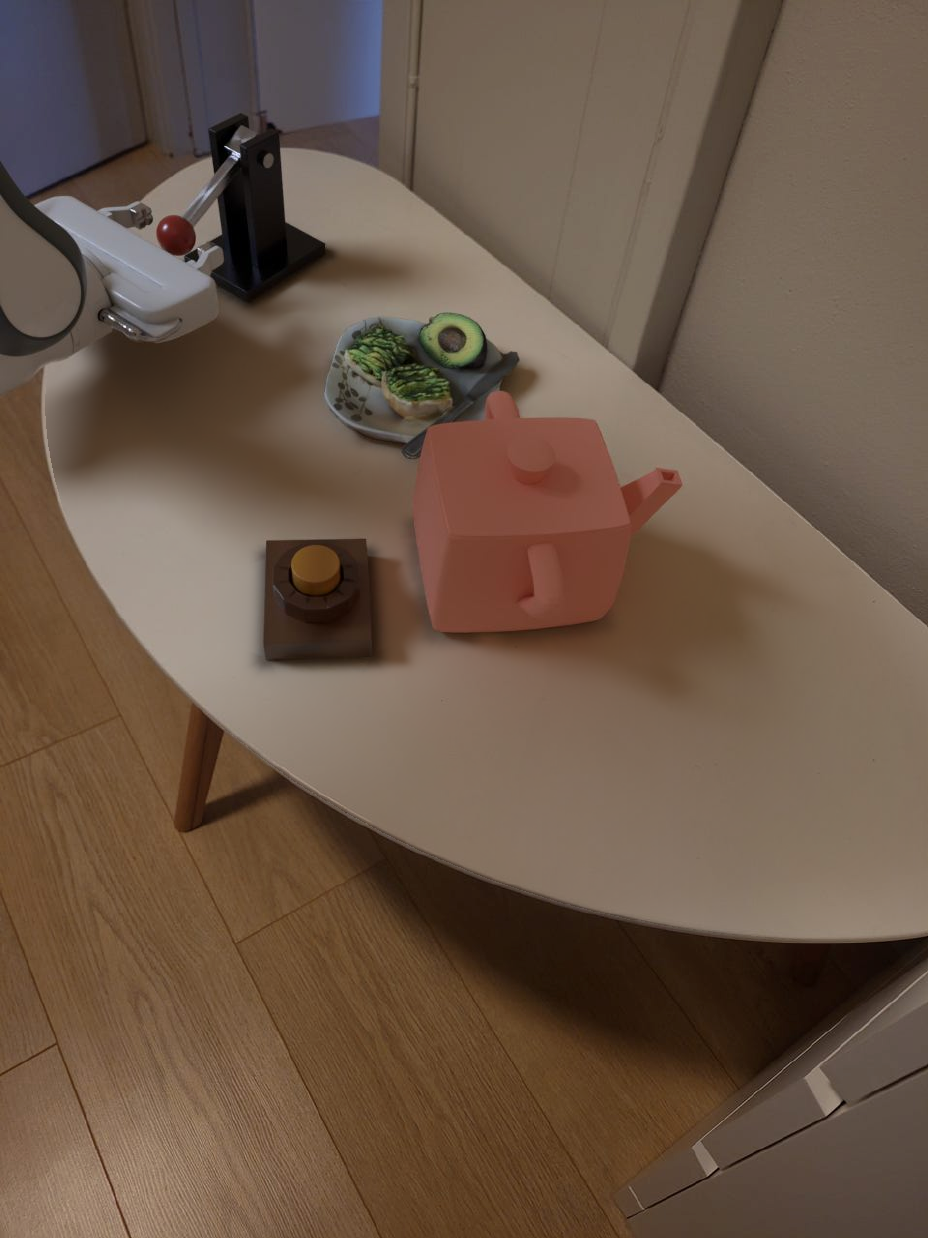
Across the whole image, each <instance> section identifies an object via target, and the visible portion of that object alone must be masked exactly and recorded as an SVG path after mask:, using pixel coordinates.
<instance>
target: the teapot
mask: <svg viewBox="0 0 928 1238" xmlns="http://www.w3.org/2000/svg"><path fill="white" fill-rule="evenodd" d="M607 447H608V446H607V445H606V442H605V439H604V436H603V434H602V431H601V429H600V426H599V424H598V422H597V420H595V419H592V418H588V417H587V418H585V417H521V415H520V411H519V409H518V406H517V404H516V402H515V400H514V398H513V397H512V395H511V394H510V393H508V392H507V391H504V390H499V391H494V392H492V393H490V394H489V396H488V397H487V400H486V405H485V420H474V421H462V422H451V423H443V424H437V425H433V426H430V427H429V428H428V429H427V432H426V436H425V439H424V443H423V447H422V451H421V455H420V457H419V458H418V459H419V460H418V465H417V469H416V475H415V481H414V490H413V497H412V515H413V516H412V517H413V524H414V534H415V540H416V541H415V542H416V548H417V554H418V555H417V556H418V561H419V562H418V563H419V568H420V572H421V579H422V583H423V590H424V595H425V601H426V605H427V611H428V615H429V619H430V623H431V626H432V628H433V630H434V631H436V632H440V633H490V632H491V633H492V632H493V633H494V632H515V631H516V632H517V631H518V632H519V631H528V630H529V631H530V630H537V629H546V628H555V627H561V626H562V627H563V626H569V625H576V624H577V625H578V624H583V623H589V622H594V621H598V620H601V619H603V618H604V617H605V615H607V613H608V612H609V610H610V609H611V608H612V607H613V605H614V603H615V600H616V598H617V594H618V593H619V590H620V589H619V588H620V586H621V583H622V579H623V576H624V572H625V568H626V563H627V557H628V552H629V546H630V540H631V538H632V537H633V536H634V535H635V534H637V532H638V531H639V530H640V529H641V528H642V527H643V526H644V525H645V524H646V523H647V522H648V521H649V520H650V519H651V518H652V517H653V516H654V515H655V514H656V513H657V512H658V511H659V510H661V508H662V507H663V506H664V505H665V504H666V503H667V502H668V501H669V500H670V499H671V498H672V497H674V495H675V494H677V492H679V490H680V489H681V488H682V487H683V485H684V484H683V481H682V479H681V476H680V473H679V471H678V470H677V469H676V470H675V469H669V468H660V467H655V469H654V470H652V471H651V472H649V473H647V474H644V475H643V476H640V477H639V478H636V479H635V480H633V481H631V482H629V483H627V484H625V485H623V486H621V485H620V481H619V478H618V475H617V473H616V471H615V467H614V465H613V461H612V459H611V455H610V452H609V450H608V448H607Z"/></svg>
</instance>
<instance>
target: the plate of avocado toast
mask: <svg viewBox="0 0 928 1238" xmlns="http://www.w3.org/2000/svg"><path fill="white" fill-rule="evenodd" d="M520 360H521V359H520V357H519V355H518V352H517V351H509V352H507V353H503V352H501V351H500V350H499V349H498V347H497V346H496V344H494V343H493V342H492V341H491V340H489V339H488V338H487V335H486V333H485V331H484V330H483V328H482V326H481V325H480V324H479V323H478V322H477V321H475V320H474V319H472V317H469V316H466V315H464V314H461V313H457V312H439V313H438V314H436V315H435V316H430V317H429V318H428V323H425V322H421V321H417V320H410V319H405V318H400V317H392V316H374V317H368V318H365V319H363V320H361V321H358V322H356V323H355V324H352V325H350V326H349V327H348V328H346V329H345V330H344V331H343V333H342V334H341V336H340V337H339V339H338V341H337V344H336V346H335V350H334V352H333V356H332V360H331V364H330V366H329V371H328V373H327V375H326V380H325V385H324V386H325V387H324V393H323V398H324V400H325V403H326V405H327V407H328V410H329V412H331V414H332V415H333V416H334V417H335V418H336V419H337V420H338V421H339V422H340V423H341V424H342V425H344V426H345V427H347V428H350V429H352V430H354V431H357V432H359V433H361V434H363V435H365V436H367V437H368V438H371V439H375V440H378V441H384V442H385V441H386V442H392V443H393V442H395V443H402V444H404V445H403V446H402V447H401V449H400V451H401V454H402V456H403V457H404V458H406V459H407V460H417V459H420V455H421V451H422V447H423V443H424V439H425V436H426V432H427V429H428V428H429V427H430V426H433V425H437V424H443V423H451V422H462V421H474V420H485V405H486V400H487V397H488V396H489V394H490V393H492V392H494V391H500V389H501V387H500V386H501V383H502V382H503V380H504V379H506V378H507V377H508V376H509V375H510V374H511V373H512V372H513V371H514V370H515V368H516V367H517V366H518V364H519V363H520Z"/></svg>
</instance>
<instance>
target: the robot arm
mask: <svg viewBox="0 0 928 1238" xmlns="http://www.w3.org/2000/svg"><path fill="white" fill-rule="evenodd" d="M152 213H153V211H152V208H151V207H150V206H148V205H146V204H144V203H143V202H141V201H139V200H137V201H134V202H132V203H130V204H128V205H126V206H125V205H123V206H109V207H102V208H100V209H98V210H97V209H95V208H93V207H91V206H90V205H88V204H86V203H84V202H82V201H81V200H79V199H77V198H76V197H74V196H71V195H58V196H52V197H50V198H47V199H44V200H43V201H40V202H38V203H36V204H34V203H32V202H31V201H30V200H29V199H28V197H27V196H25V194H24V193H23V192H22V191H21V189H20V188H19V187H18V185H17V184H16V182H15V181H14V180H13V177H12V176H11V175H10V173H9V172H8V170H7V169H6V167H5V165H4V164H3V163H2V161H1V160H0V399H1V398H2V397H5V396H6V395H8V394H10V393H11V392H13V391H15V390H17V389H19V388H20V387H22V386H24V385H25V384H27V383H28V382H30V381H31V380H32V379H33V377H35V375H36V374H37V373H38V372H39V371H40V370H41V369H42V368H44V367H46V366H49V365H51V364H54V363H58V362H61V361H65V360H67V359H69V358H71V357H72V356H74V355H76V354H77V353H79V352H81V351H82V350H84V349H87V348H88V347H89V346H91V345H92V344H94V343H96V342H98V341H99V340H101V339H103V338H104V337H106V336H107V335H109V334H111V333H112V332H113V330H115V331H118V332H120V333H122V334H124V335H125V336H126V337H127V338H128V339H129V340H131V341H133V342H135V343H141V342H146V343H154V344H160V343H166V342H169V341H172V340H175V339H178V338H180V337H183V336H185V335H187V334H189V333H191V332H193V331H196V330H198V329H201V327H204V326H206V325H208V324H209V323H211V322H213V321H214V320H215V319H216V318H217V317H218V315H219V311H220V302H219V294H218V287H217V284H215V281H214V279H212V278H211V277H210V275H211V272H212V270H214V269H215V268H217V267H219V266H220V265H222V264H223V262H224V255H223V249H222V248H221V247H219V246H217V245H215V244H213V243H211V242H209V241H206V242H205V243H204V244H205V245H204V244H201V245H199V246H198V247H196V249H197V250H198V255H199V259H198V261H197V262H195V261H194V260H190V261H188V262H187V263H185V260H183V259H180V258H179V257H178V256H174V255H172V254H170V253H168V252H167V251H165V250H163V249H162V248H161V246H160V247H159V246H158V245H156V244H155V243H153V242H152V241H150V240H148V239H146V238H145V237H142V236H141V235H139V234H137V233H136V232H134V231H132V230H130V229H131V228H136V229H138V230H139V231H141V230H143V229H145V228H146V226H150V225H152V224H153V222H154V216H153V214H152Z"/></svg>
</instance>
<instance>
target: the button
mask: <svg viewBox="0 0 928 1238" xmlns="http://www.w3.org/2000/svg"><path fill="white" fill-rule="evenodd" d="M291 568H292V578H293V583H294V585H295V586H296V588H297V589H298V590H299V591H301V592H302V593H304V594H307V595H311V596H321V595H325V594H328V593H330V592H331V591H333V590H334V589H335V588H336V587H337V585H338V584H339V581H340V560H339V558H338V556H337V554H336V553H335V552H334V551H333V550H331V549H330V548H328V547H325V546H321V545H311V546H307V547H304V548H302V549H300V550H299V551H298V552H297V553H296V554H295V555H294V557H293V559H292V562H291Z"/></svg>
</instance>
